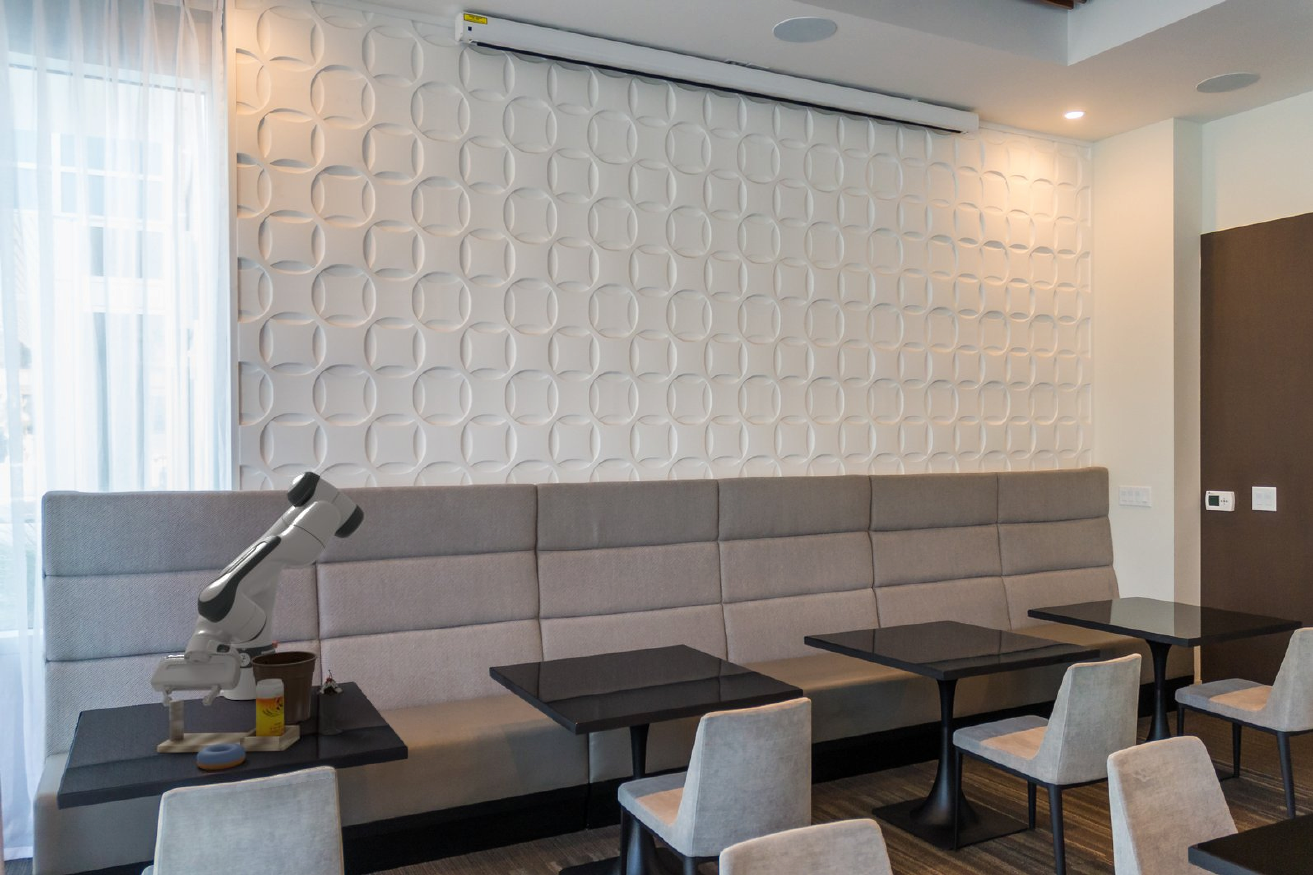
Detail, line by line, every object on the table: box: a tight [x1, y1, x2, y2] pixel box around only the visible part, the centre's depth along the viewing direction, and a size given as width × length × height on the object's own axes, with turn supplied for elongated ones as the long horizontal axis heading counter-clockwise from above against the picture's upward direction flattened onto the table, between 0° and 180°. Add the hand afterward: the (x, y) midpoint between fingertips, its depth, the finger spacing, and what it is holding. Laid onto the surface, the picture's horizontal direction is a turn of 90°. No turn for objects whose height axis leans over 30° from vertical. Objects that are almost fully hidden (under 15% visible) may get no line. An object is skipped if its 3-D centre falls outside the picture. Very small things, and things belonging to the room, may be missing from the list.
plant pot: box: [250, 650, 318, 726], centre depth 253 cm, size 16×16×16 cm
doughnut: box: [196, 743, 246, 771], centre depth 217 cm, size 10×10×5 cm
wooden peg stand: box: [156, 698, 300, 753], centre depth 231 cm, size 29×10×10 cm, turn 90°
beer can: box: [255, 679, 285, 737], centre depth 231 cm, size 6×6×15 cm
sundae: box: [316, 669, 346, 736], centre depth 241 cm, size 7×7×15 cm
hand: (186, 704), depth 235 cm, fingers open, 8 cm apart
